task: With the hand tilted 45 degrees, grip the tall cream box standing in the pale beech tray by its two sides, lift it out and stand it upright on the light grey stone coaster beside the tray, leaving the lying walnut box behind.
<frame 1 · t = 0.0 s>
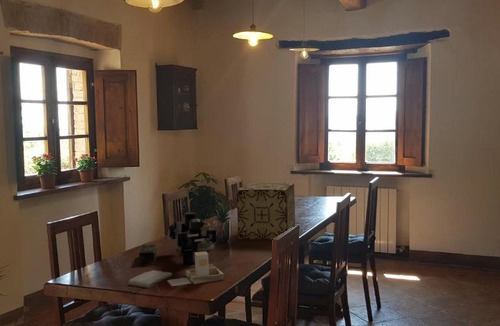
hand: (201, 241, 233), 17 cm above the table, tool horizontal, fingers open, 9 cm apart
coaster: (179, 283, 226), on the table
decorative box: (267, 234, 318), on the table
tankard: (199, 247, 289), on the table
beverage carton: (148, 260, 267), on the table
cream box: (202, 279, 228), point 1 cm above the table, touching tray
washcloth: (151, 282, 231), on the table
walnut box: (210, 274, 235), point 1 cm above the table, touching tray
tray: (204, 278, 232), on the table
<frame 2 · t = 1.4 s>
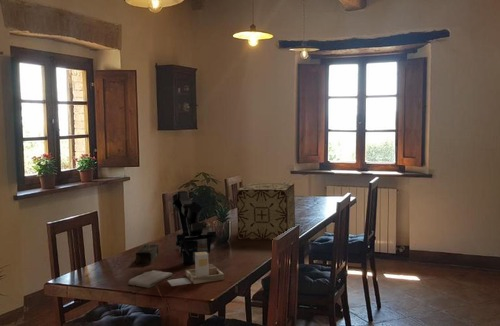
hand: (199, 253, 231), 11 cm above the table, tool tilted 45°, fingers open, 9 cm apart
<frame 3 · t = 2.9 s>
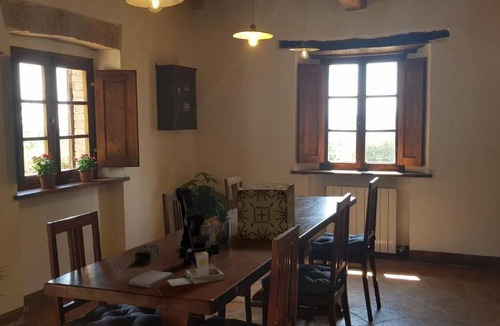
hand: (202, 267, 226), 7 cm above the table, tool tilted 45°, fingers closed on cream box, 5 cm apart
cream box: (202, 279, 228), point 1 cm above the table, touching gripper, tray
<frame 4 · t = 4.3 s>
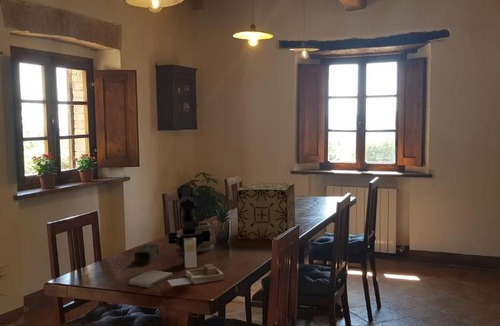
hand: (190, 253, 224), 13 cm above the table, tool tilted 45°, fingers closed on cream box, 5 cm apart
cream box: (190, 265, 226), point 7 cm above the table, touching gripper
when the fingers open (8 cm above the table, at t = 6.0 s): cream box drops 1 cm, resting on coaster.
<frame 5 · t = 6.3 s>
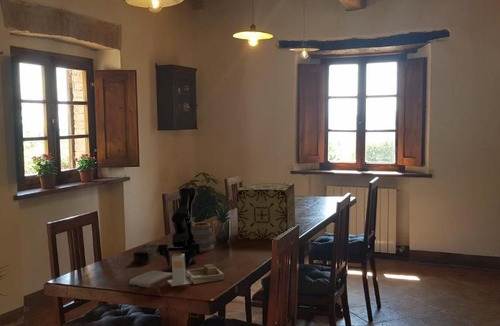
hand: (178, 266, 224), 8 cm above the table, tool tilted 45°, fingers open, 8 cm apart
cream box: (179, 281, 226), point 1 cm above the table, touching coaster
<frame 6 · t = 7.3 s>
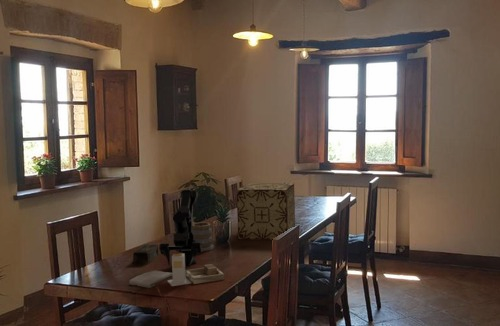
hand: (179, 264, 228), 8 cm above the table, tool tilted 45°, fingers open, 9 cm apart
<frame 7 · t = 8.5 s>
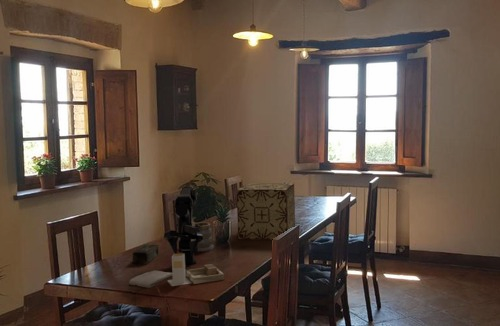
hand: (184, 254, 235), 10 cm above the table, tool tilted 25°, fingers open, 9 cm apart
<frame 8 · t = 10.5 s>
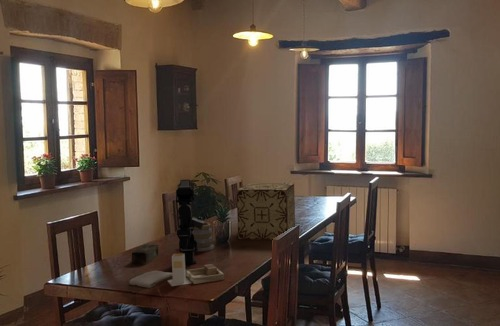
hand: (186, 246, 239), 13 cm above the table, tool pointing down, fingers open, 9 cm apart
at the end: cream box inside the target area on the coaster (0.0 cm from its centre), point 0.6 cm above the coaster's base; cream box tilted 0°; the gripper is holding nothing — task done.
